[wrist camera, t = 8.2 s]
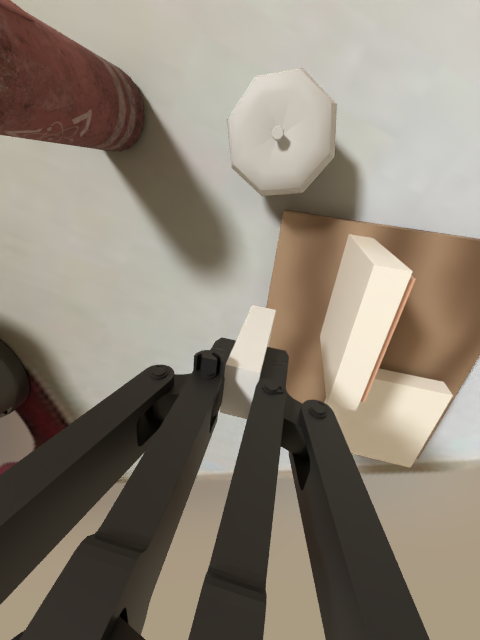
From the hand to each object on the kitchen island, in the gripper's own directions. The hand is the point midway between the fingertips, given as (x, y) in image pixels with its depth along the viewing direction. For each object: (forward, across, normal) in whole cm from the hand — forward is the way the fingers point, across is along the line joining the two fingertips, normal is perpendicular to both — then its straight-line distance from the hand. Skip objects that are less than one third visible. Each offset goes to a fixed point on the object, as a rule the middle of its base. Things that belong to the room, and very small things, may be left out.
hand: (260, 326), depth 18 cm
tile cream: (+10, +7, 0) cm, 12 cm away
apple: (+12, -2, +11) cm, 16 cm away
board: (+12, +10, -6) cm, 16 cm away
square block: (+9, +8, -12) cm, 17 cm away
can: (+12, -16, +12) cm, 24 cm away
